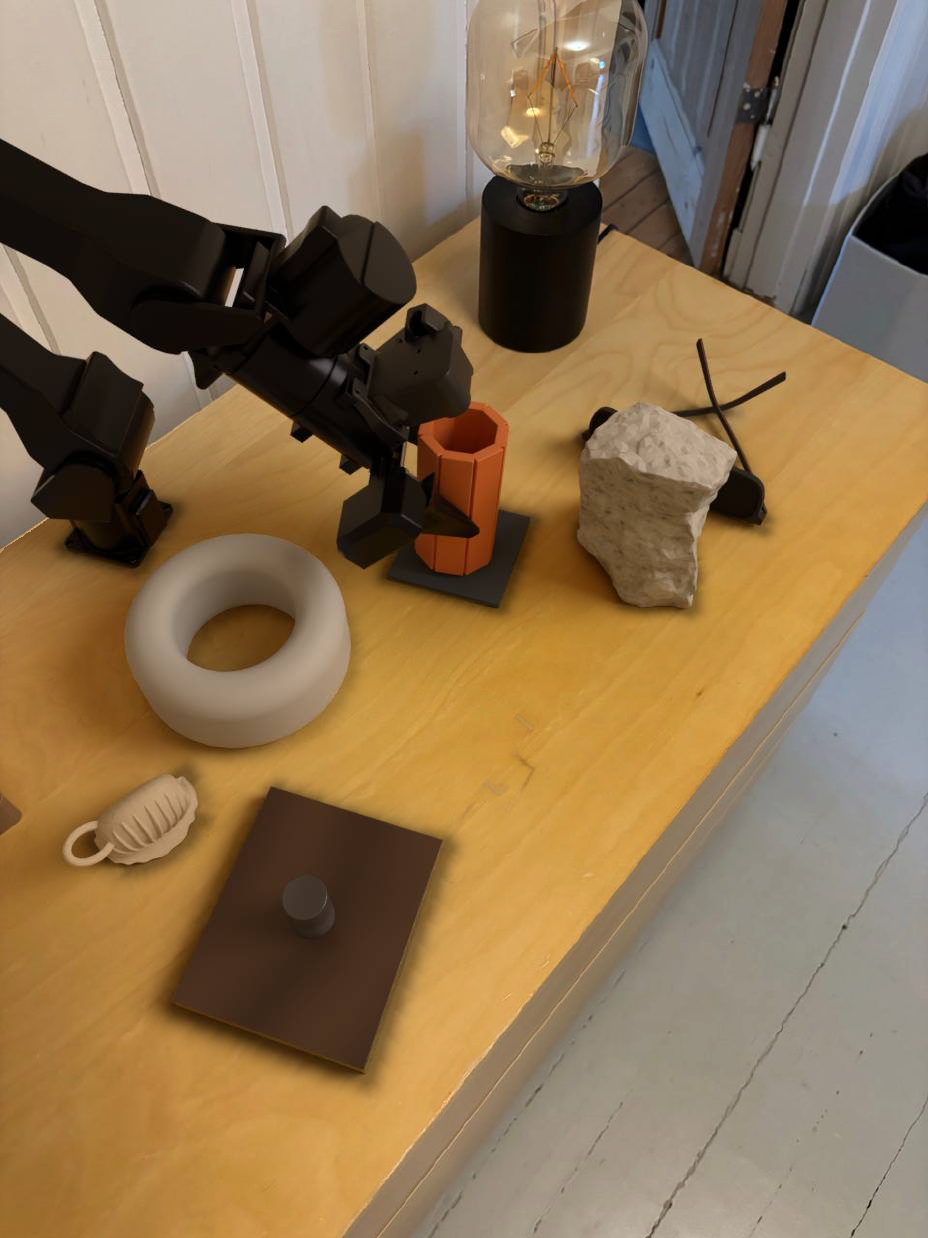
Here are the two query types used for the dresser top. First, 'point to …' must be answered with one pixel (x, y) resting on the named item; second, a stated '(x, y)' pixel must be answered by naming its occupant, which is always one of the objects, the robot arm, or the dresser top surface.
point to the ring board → (313, 970)
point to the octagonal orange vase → (464, 483)
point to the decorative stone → (649, 501)
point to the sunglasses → (742, 487)
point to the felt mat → (479, 584)
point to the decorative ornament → (140, 823)
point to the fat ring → (255, 696)
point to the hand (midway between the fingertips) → (478, 500)
